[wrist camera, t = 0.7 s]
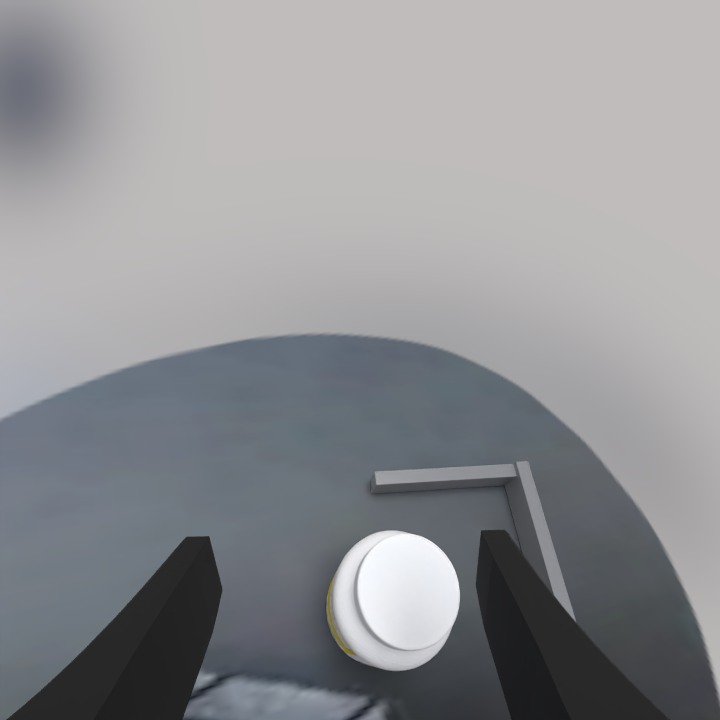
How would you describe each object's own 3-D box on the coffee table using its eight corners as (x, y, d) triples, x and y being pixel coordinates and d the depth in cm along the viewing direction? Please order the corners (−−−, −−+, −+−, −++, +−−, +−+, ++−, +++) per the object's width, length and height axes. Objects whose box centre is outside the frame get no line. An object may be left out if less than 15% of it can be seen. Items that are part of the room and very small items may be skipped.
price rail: (589, 739, 23) (618, 749, 21) (400, 769, 21) (411, 783, 19) (515, 472, 30) (530, 461, 28) (370, 481, 29) (375, 469, 27)
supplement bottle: (434, 585, 26) (498, 560, 18) (394, 686, 23) (447, 714, 15) (354, 536, 27) (379, 491, 18) (305, 627, 24) (309, 623, 16)
